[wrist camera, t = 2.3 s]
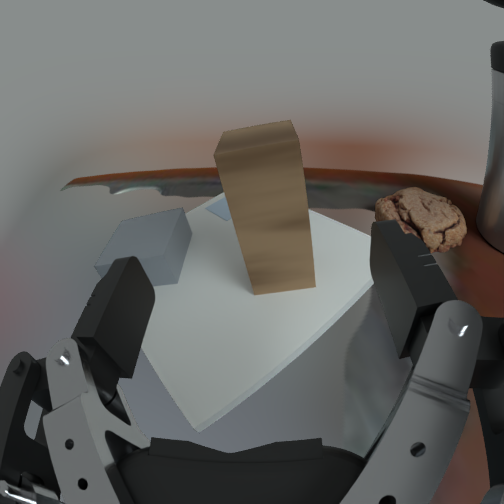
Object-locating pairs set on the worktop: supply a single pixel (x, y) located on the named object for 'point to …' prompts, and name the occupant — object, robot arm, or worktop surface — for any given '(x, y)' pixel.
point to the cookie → (424, 217)
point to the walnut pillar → (268, 205)
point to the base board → (230, 303)
